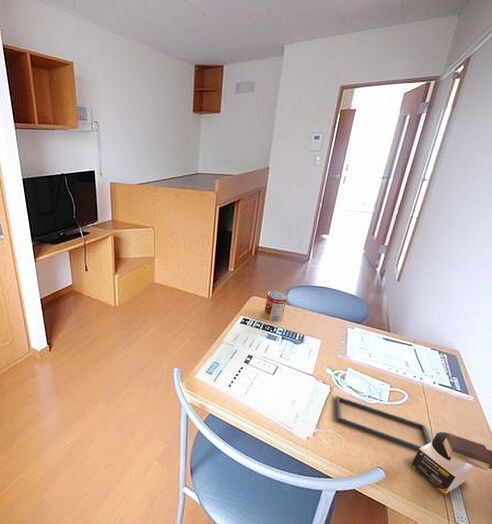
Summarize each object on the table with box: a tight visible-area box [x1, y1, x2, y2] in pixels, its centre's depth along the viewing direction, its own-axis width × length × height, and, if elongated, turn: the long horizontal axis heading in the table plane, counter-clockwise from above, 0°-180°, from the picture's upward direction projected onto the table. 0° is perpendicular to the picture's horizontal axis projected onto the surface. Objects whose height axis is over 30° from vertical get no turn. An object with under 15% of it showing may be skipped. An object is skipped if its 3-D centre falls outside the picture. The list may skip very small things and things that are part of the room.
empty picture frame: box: [335, 395, 431, 452], centre depth 86 cm, size 21×9×2 cm, turn 61°
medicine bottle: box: [410, 431, 474, 495], centre depth 72 cm, size 7×7×12 cm
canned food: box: [263, 290, 288, 323], centre depth 136 cm, size 8×8×12 cm
